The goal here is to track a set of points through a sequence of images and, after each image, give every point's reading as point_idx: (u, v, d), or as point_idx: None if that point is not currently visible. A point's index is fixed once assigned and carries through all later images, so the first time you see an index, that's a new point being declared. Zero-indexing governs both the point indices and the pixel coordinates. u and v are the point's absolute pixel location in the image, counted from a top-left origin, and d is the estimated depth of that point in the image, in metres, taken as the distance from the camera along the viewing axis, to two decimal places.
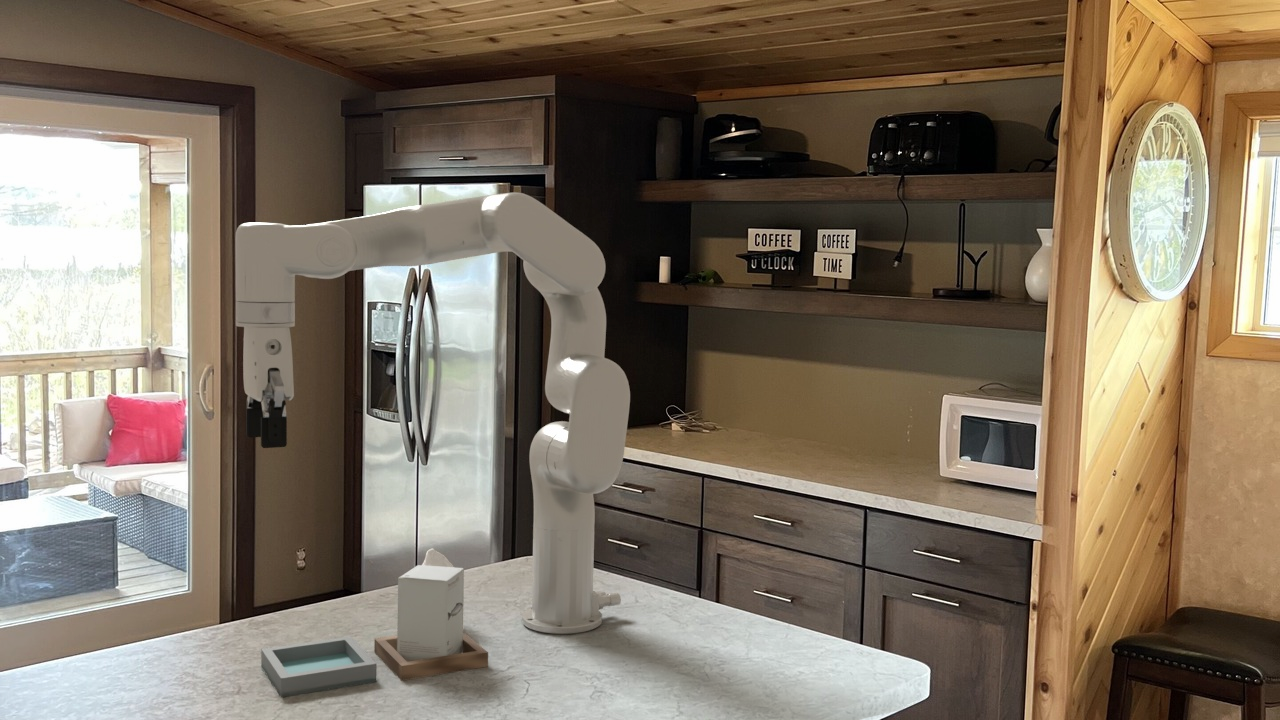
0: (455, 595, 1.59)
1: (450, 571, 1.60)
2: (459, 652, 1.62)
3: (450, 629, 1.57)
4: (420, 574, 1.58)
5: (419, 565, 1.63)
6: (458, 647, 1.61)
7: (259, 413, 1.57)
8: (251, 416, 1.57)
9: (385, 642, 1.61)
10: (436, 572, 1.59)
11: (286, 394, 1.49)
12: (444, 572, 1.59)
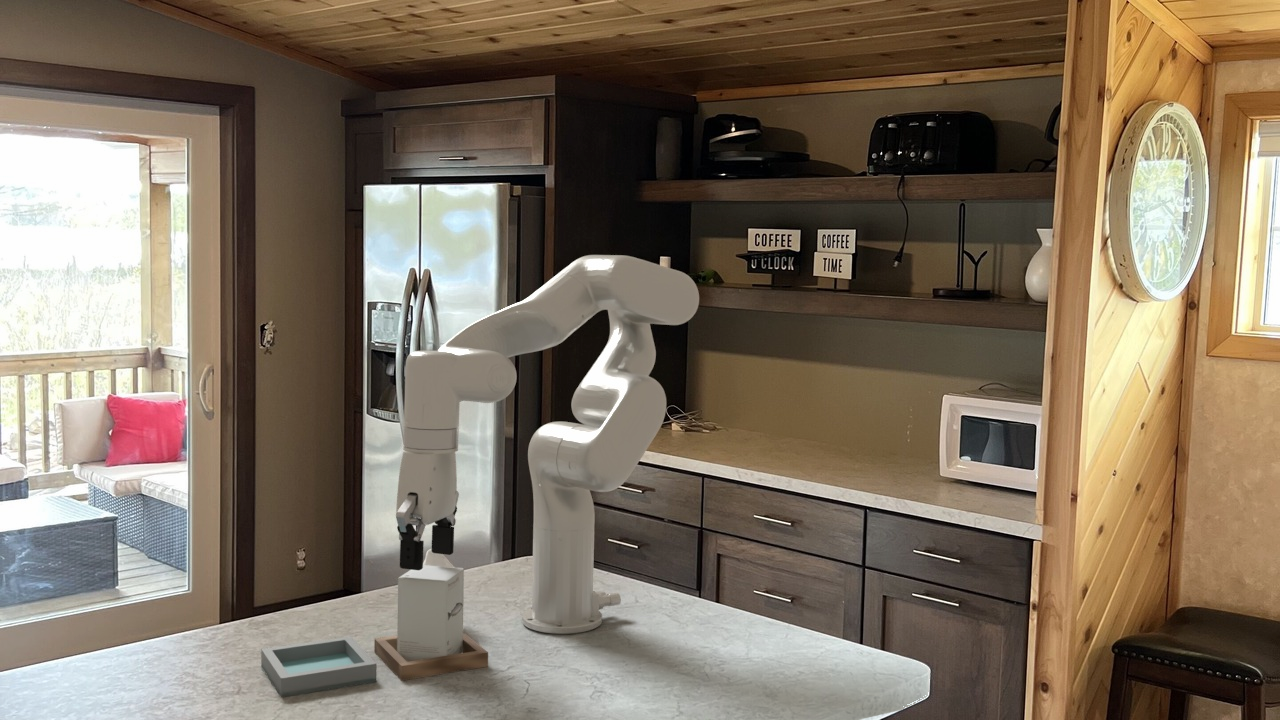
0: (455, 595, 1.59)
1: (450, 571, 1.60)
2: (459, 652, 1.62)
3: (450, 629, 1.57)
4: (420, 574, 1.58)
5: None
6: (458, 647, 1.61)
7: None
8: None
9: (385, 642, 1.61)
10: (436, 572, 1.59)
11: None
12: (444, 572, 1.59)
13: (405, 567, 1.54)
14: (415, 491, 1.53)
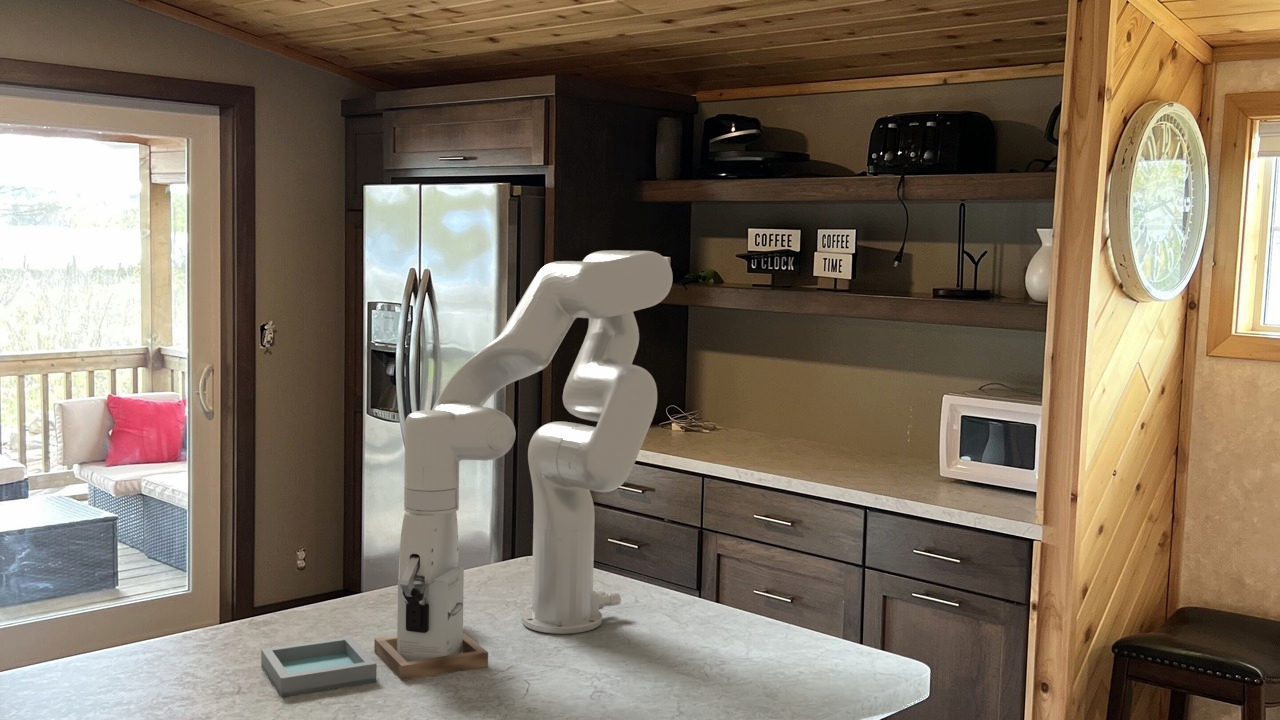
0: (455, 595, 1.59)
1: (450, 571, 1.60)
2: (459, 652, 1.62)
3: (450, 629, 1.57)
4: None
5: None
6: (458, 647, 1.61)
7: None
8: None
9: (385, 642, 1.61)
10: None
11: None
12: None
13: (411, 630, 1.56)
14: (417, 553, 1.54)
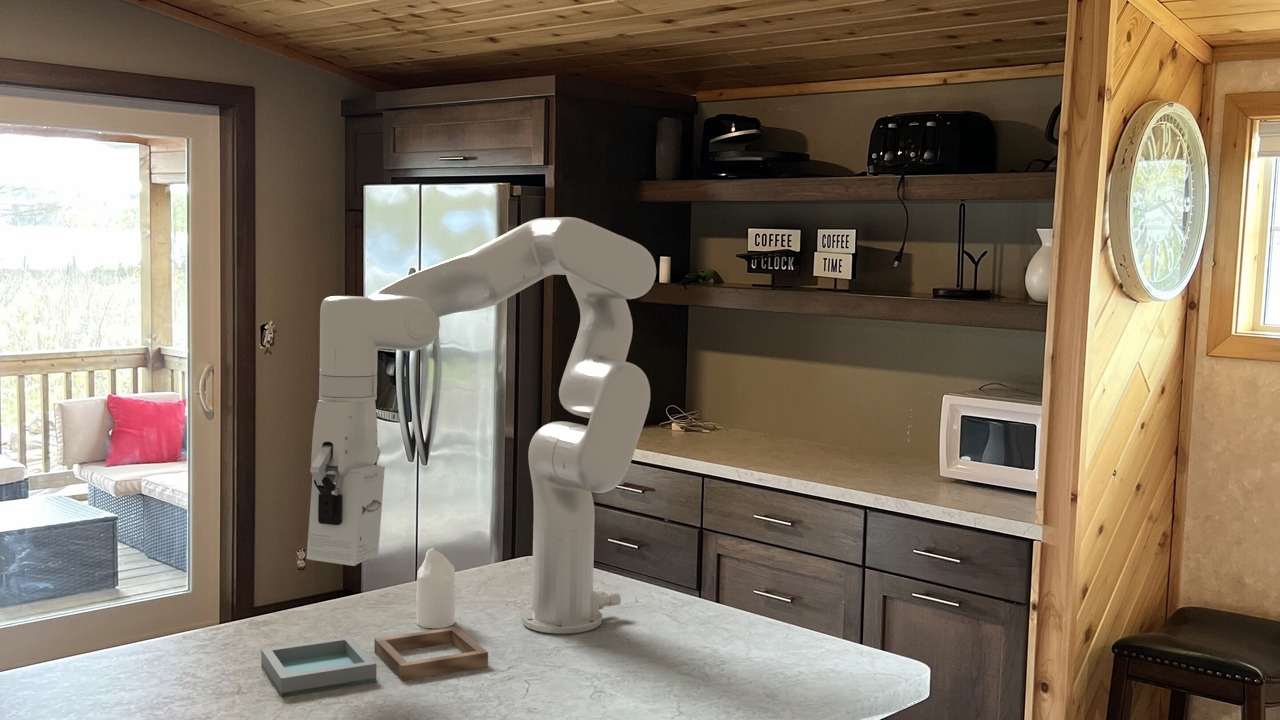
0: (372, 491, 1.52)
1: (369, 466, 1.54)
2: (374, 553, 1.55)
3: (364, 525, 1.51)
4: None
5: None
6: (373, 548, 1.55)
7: None
8: None
9: (385, 642, 1.61)
10: None
11: None
12: None
13: (324, 522, 1.49)
14: (330, 440, 1.48)
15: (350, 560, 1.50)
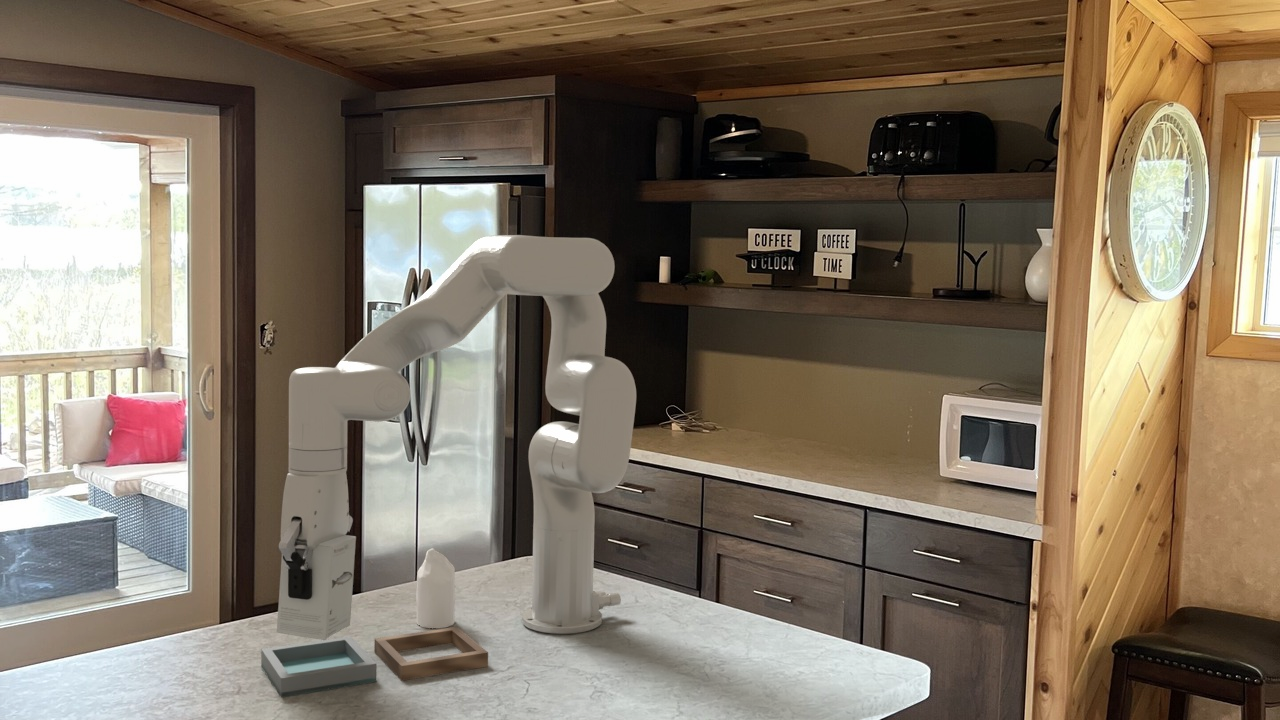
0: (342, 563, 1.51)
1: (340, 538, 1.53)
2: (345, 624, 1.54)
3: (334, 598, 1.50)
4: None
5: None
6: (345, 619, 1.54)
7: None
8: None
9: (385, 642, 1.61)
10: None
11: None
12: None
13: (293, 596, 1.48)
14: (299, 515, 1.47)
15: (320, 634, 1.49)
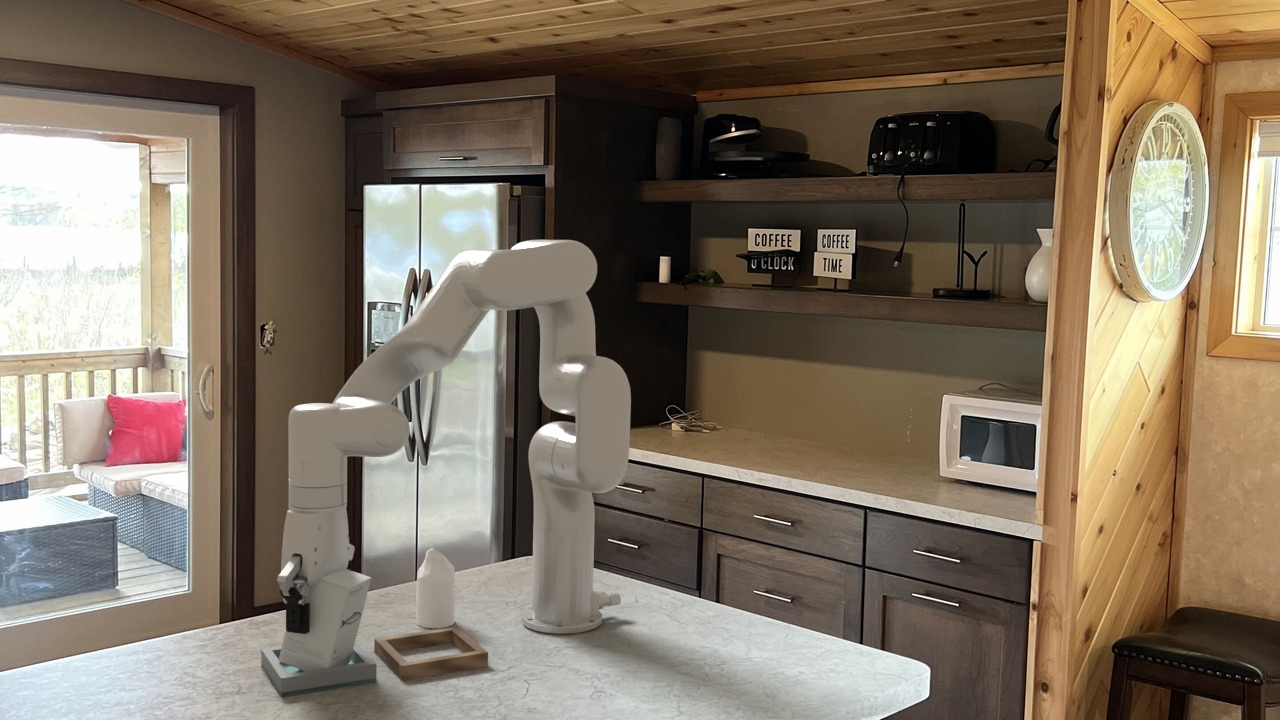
0: (354, 604, 1.52)
1: (356, 578, 1.53)
2: (346, 662, 1.55)
3: (341, 637, 1.50)
4: None
5: None
6: (346, 657, 1.54)
7: None
8: None
9: (385, 642, 1.61)
10: (341, 575, 1.52)
11: None
12: (349, 577, 1.52)
13: (291, 631, 1.48)
14: (299, 552, 1.47)
15: None
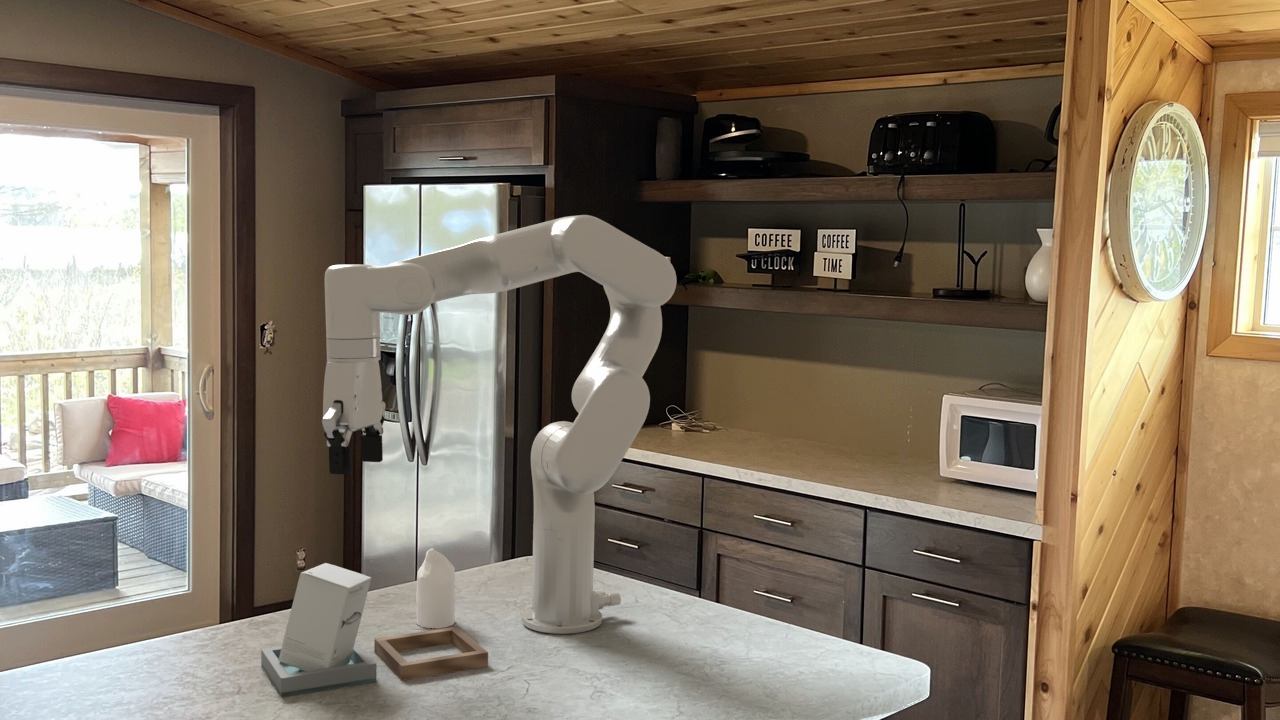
0: (354, 604, 1.52)
1: (356, 578, 1.53)
2: (346, 662, 1.55)
3: (341, 637, 1.50)
4: (324, 574, 1.51)
5: (327, 563, 1.56)
6: (346, 657, 1.54)
7: None
8: None
9: (385, 642, 1.61)
10: (341, 575, 1.52)
11: None
12: (349, 577, 1.52)
13: (335, 472, 1.60)
14: (340, 399, 1.59)
15: None
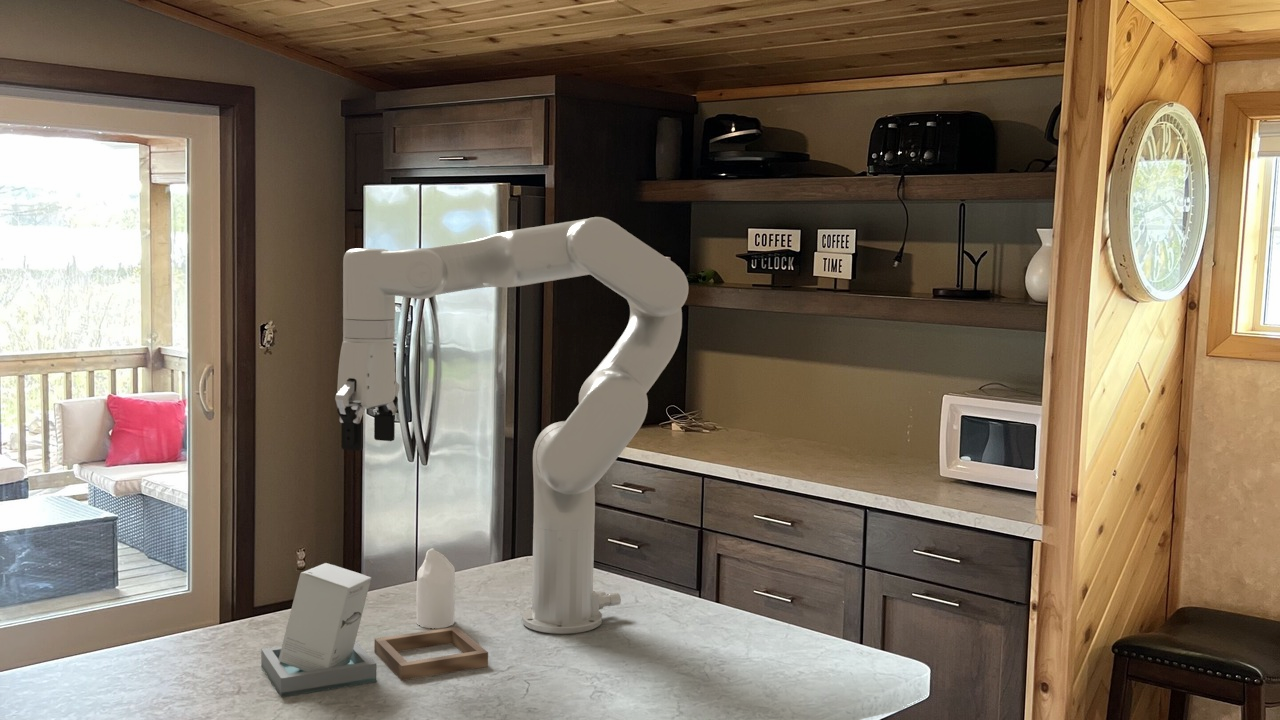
0: (354, 604, 1.52)
1: (356, 578, 1.53)
2: (346, 662, 1.55)
3: (341, 637, 1.50)
4: (324, 574, 1.51)
5: (327, 563, 1.56)
6: (346, 657, 1.54)
7: None
8: None
9: (385, 642, 1.61)
10: (341, 575, 1.52)
11: None
12: (349, 577, 1.52)
13: (346, 448, 1.66)
14: (354, 377, 1.65)
15: None
